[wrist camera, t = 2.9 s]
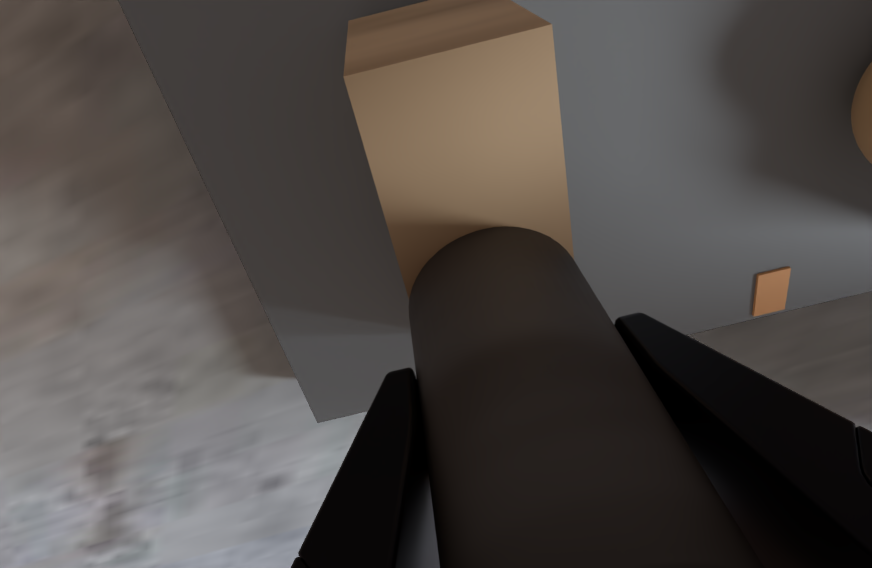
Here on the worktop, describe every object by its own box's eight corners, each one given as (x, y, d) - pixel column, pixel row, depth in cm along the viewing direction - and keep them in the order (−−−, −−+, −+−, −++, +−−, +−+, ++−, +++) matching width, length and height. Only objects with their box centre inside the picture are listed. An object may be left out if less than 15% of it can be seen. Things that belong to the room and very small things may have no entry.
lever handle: (538, 316, 17) (745, 783, 8) (433, 341, 17) (518, 833, 8) (490, -16, 12) (889, 203, 3) (344, 21, 12) (299, 347, 3)
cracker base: (986, 222, 20) (1297, 375, 14) (320, 381, 21) (302, 605, 14) (1190, -341, 13) (2144, -631, 6) (123, -65, 13) (-125, -40, 6)
